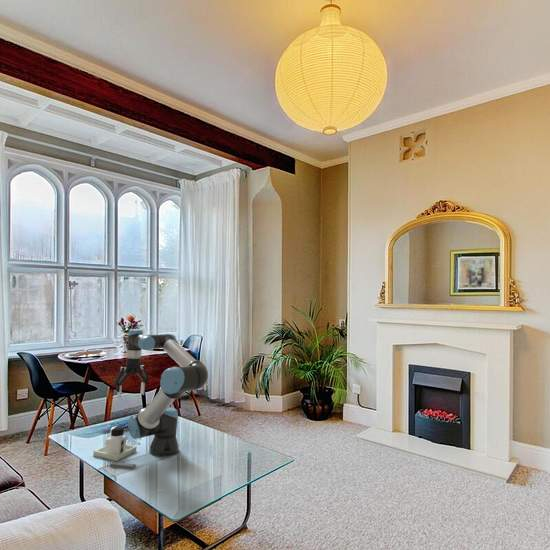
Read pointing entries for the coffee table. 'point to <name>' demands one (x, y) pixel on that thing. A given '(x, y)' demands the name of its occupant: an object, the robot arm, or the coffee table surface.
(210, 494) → the coffee table surface
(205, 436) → the coffee table surface
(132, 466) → the puller tool
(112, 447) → the container
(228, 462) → the coffee table surface
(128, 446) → the parts tray
